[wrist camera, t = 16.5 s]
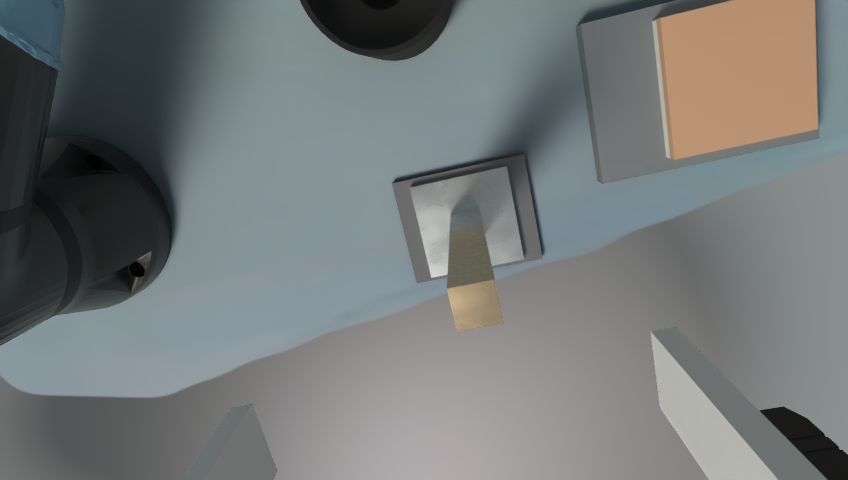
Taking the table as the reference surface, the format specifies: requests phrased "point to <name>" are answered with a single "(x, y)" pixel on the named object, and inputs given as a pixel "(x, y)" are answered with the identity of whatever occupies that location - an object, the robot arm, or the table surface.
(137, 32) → the table surface
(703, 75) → the tile
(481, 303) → the wooden post on base
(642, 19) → the slate board
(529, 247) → the mat
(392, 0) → the pen holder
